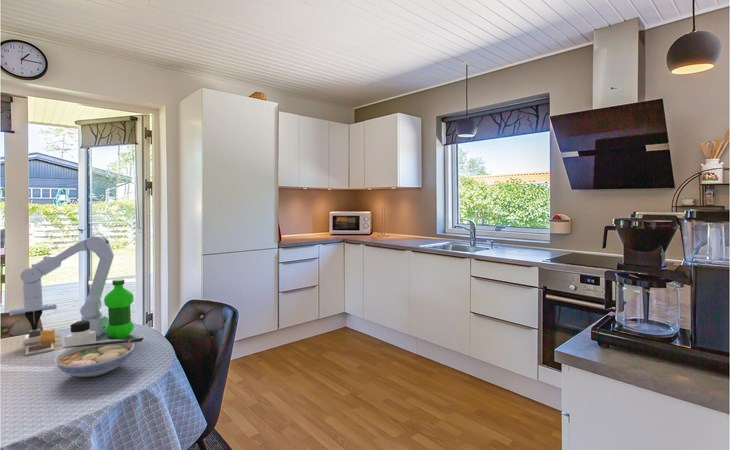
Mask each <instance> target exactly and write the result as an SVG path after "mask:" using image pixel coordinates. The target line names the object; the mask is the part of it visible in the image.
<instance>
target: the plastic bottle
mask: <svg viewBox="0 0 730 450" xmlns="http://www.w3.org/2000/svg"><path fill="white" fill-rule="evenodd" d="M111 284H112V286H113V288H112V290H110V291H109V292H108V293H107V294H106V295H105V296H104V300H103V301H104V305H105V306H106V307H107V311H108V312H107V313H108V319H109V325H108V327H107V329H106V331H107V332H106V334H107V335H108V336H109V337H110V338H112V340H124V339H125V338H128V337H129V335H130V334H131V333H133V331H134V324H133V322H132V316H131V312H132V311H131V305H132V304H133V302H134V294H133V292H131V291H130V290H128V289H126V288H124V285H125V279H124V278H118V279H113V280H112V283H111Z"/></svg>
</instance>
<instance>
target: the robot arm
mask: <svg viewBox="0 0 730 450" xmlns="http://www.w3.org/2000/svg"><path fill="white" fill-rule="evenodd" d="M86 251H90V252H92V253H95V255H96V256H97V257H98V258H99V259H98V263H97V267H96V270H95V273H94V276H93V280H92V283H91V286H90V288H89V289H90V290H89V293H88V295H87V298H86V301H85V302H84V304H83V305H82V306H81V308H80V310H79V312H80V315H81V316H80V317H81V318H80V319H81V320H87V321H89V322H90V331H96V337H97V336H98V337H99V336H101V335H104V334H107V331H106V329H107V327H108V325H109V317H108V316H105V315H103V314H102V312H101V311H100V310H101V308H102V301H101V300H102V298H103V297H102V296H103V292H104V288H105V286H106V283H107V280H108V275H109V273H110V270H111V267H112V263H113V260H114V251H113V249H112V248H111V245H110V241H109V240H108V239H107V238H106V236H104V235H102V234H94V235H92V236H90V237H88V238H85V239H82V240H80V241H78V242H76V243H75V244H73V245H72V246H69V247H68V248H67V249H65V250H63V251H62V252H60V253H59V254H57V255H52V254H51V255H46V256H44V257H42V259H41V260H40V261H38V262H36V263H33V264H31V265H30V266H31V267H28V268H26V269H24V270H23V271H22V272H21V274H20V280H21V281H22V284H23V285H22V289H23V290H22V291H23V293H22V294H23V307H19V308H14V309H9V310H8V315H9V317H10V316H15V315H21V314H24V316H25V318H26V319H27V321H28V322H29V324H30V326H31V330H37V329H38V323H39V321H40V319H41V316H42V315H43V311H50V310H57V308H58V307H57V303H51V304H43V286H42V277H43V276H46V275H48V274H50V273H52V272H53V271H55V270H56V269H58V268H60V267H61V265H62V262H64V261H65V260H67V259H68V258H70V257H72V256H74V255H75V254H77V253H80V252H86Z"/></svg>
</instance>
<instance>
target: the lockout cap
mask: <svg viewBox="0 0 730 450" xmlns="http://www.w3.org/2000/svg"><path fill="white" fill-rule="evenodd" d="M55 331H56V329H55V328H47V329H43V330H41V332H40V333H41V344H45V343H51V342H53V343H54V342H55V334H56V332H55Z"/></svg>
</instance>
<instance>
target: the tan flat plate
mask: <svg viewBox="0 0 730 450" xmlns="http://www.w3.org/2000/svg"><path fill="white" fill-rule="evenodd" d="M61 337H62V336H61V332H58V333H56V332H55V342H54V343H53V347H54V350H52V351H51V352H53V351H54V352H55V351H58V350H62V349H63V346H62V339H61ZM40 344H41V341H39V342H34V343H28V344H25V345H24V351H23V357H30V356H33V355H35V354H31V355H26V356H25V352H26V347H29V346H34V345H40ZM48 348H51V345H48V346H43V347H38V348H32V349H29V352H33V351H38V350H43V349H48ZM49 352H50V351H47V352H46V353H49ZM44 353H45V352H42V353H41V354H44ZM39 354H40V353H37V354H36V355H39Z"/></svg>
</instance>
